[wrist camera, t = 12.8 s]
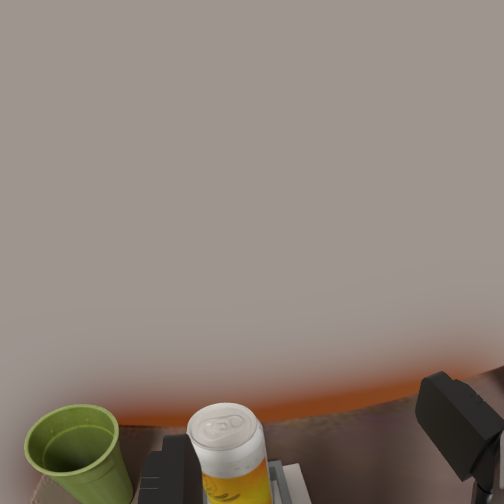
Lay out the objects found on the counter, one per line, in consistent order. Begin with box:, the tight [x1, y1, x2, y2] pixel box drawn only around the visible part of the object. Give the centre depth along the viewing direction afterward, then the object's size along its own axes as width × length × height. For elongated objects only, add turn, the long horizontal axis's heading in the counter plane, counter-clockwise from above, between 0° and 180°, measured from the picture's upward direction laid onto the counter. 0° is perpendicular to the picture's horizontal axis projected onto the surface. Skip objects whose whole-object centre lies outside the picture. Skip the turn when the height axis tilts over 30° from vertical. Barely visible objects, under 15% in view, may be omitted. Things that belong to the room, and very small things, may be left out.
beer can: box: [186, 403, 274, 504], centre depth 24 cm, size 6×6×15 cm
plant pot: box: [24, 404, 133, 504], centre depth 27 cm, size 12×12×11 cm
